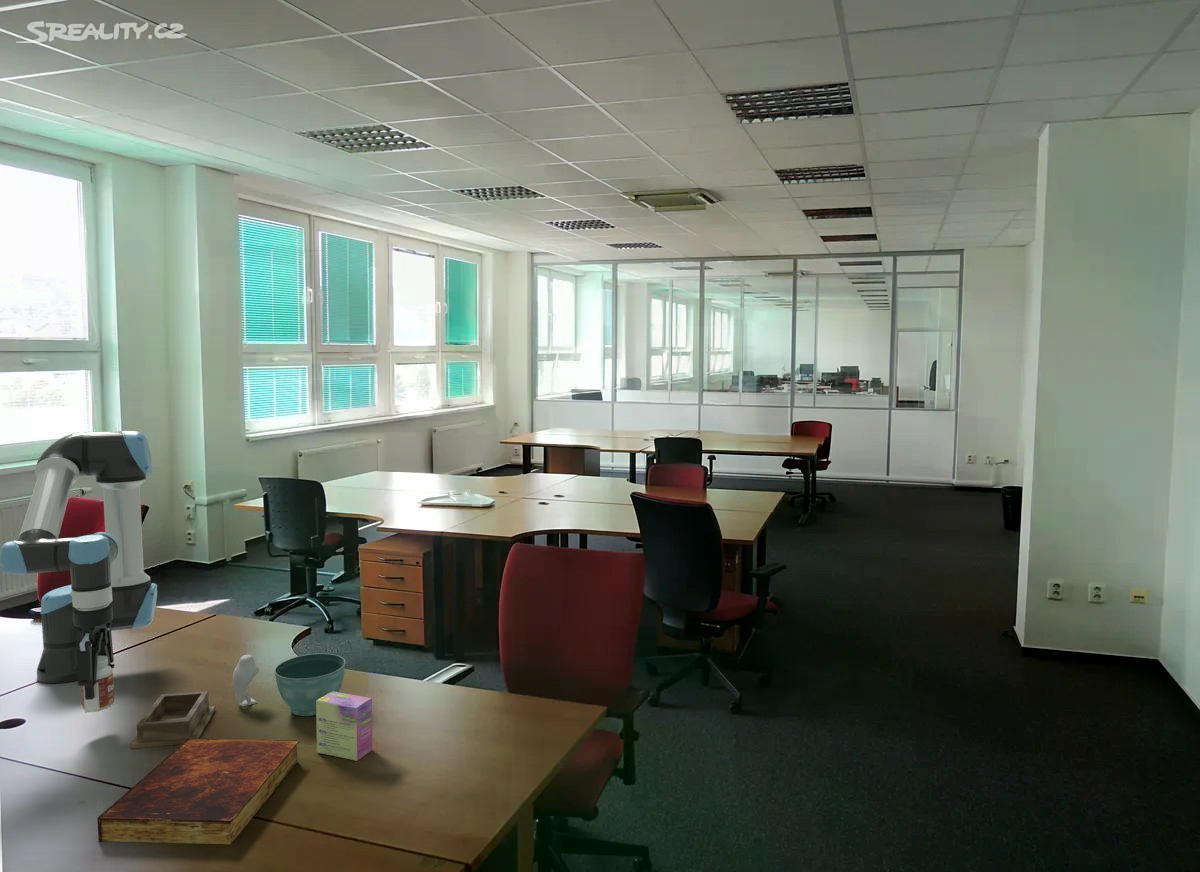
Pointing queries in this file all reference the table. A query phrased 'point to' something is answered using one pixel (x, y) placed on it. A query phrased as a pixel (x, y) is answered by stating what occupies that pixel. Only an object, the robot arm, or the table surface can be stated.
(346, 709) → the box
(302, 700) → the teal bowl
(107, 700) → the pill bottle
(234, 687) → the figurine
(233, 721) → the table surface
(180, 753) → the book
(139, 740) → the wooden tray
